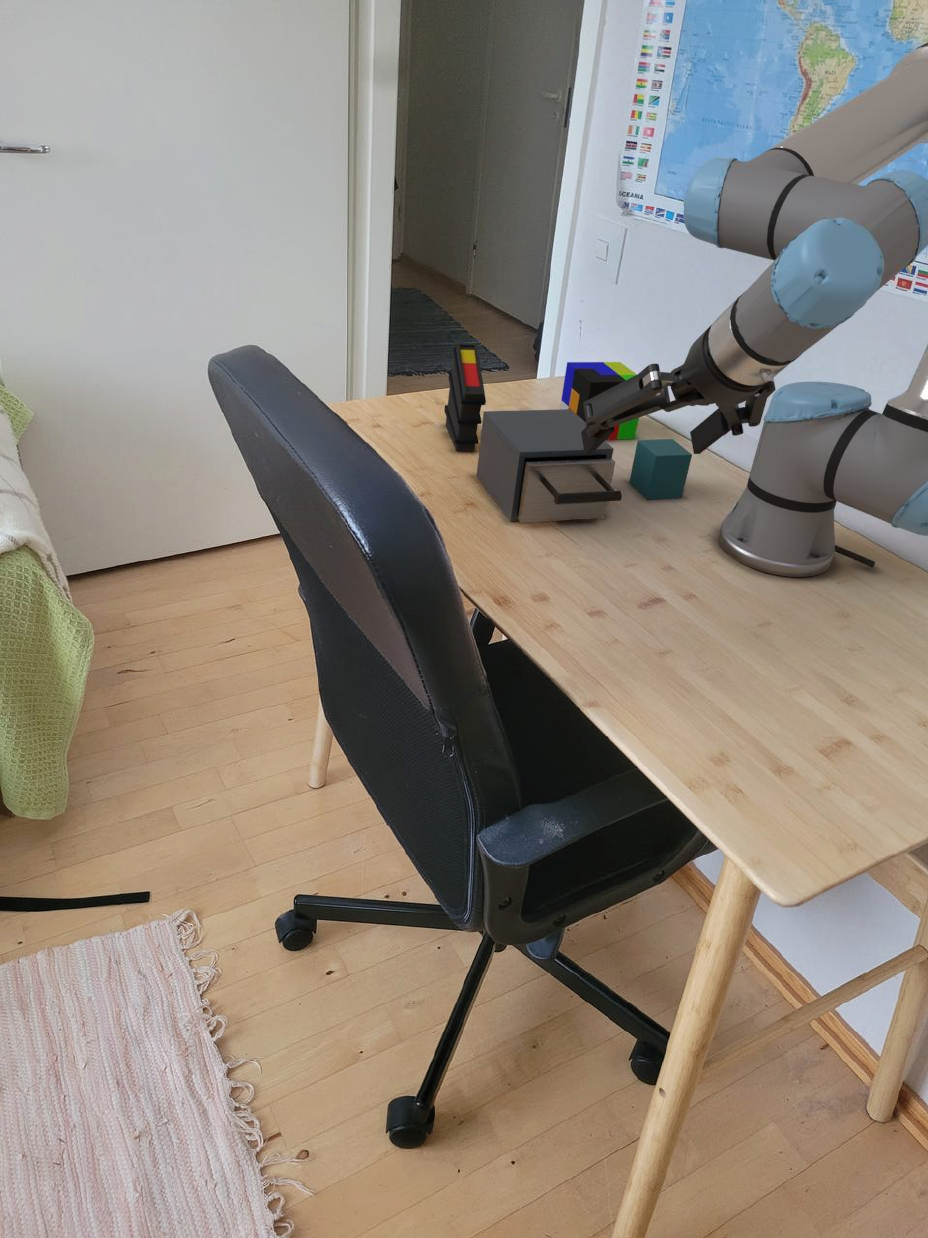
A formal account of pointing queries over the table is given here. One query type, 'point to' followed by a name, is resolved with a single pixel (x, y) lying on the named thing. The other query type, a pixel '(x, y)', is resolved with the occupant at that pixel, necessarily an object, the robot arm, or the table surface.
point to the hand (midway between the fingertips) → (641, 443)
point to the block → (660, 468)
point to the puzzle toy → (595, 389)
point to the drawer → (566, 488)
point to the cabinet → (525, 448)
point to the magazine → (465, 398)
